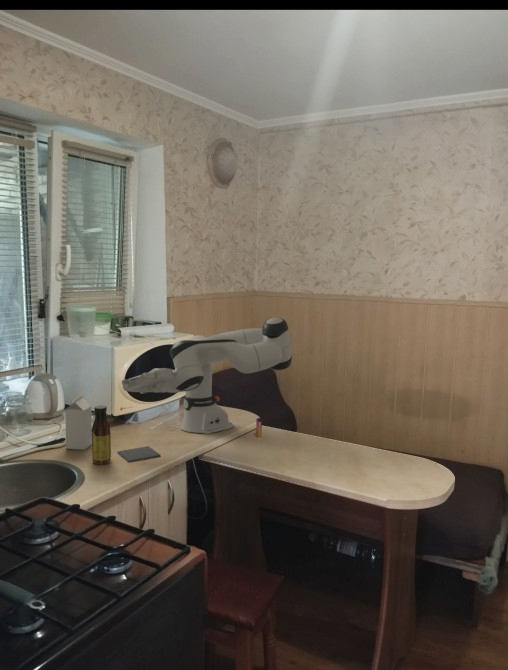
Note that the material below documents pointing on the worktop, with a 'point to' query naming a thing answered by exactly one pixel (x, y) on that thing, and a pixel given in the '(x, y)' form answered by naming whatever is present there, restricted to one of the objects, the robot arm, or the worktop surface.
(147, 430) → the worktop surface
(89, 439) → the milk carton
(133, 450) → the mat
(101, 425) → the sauce bottle
